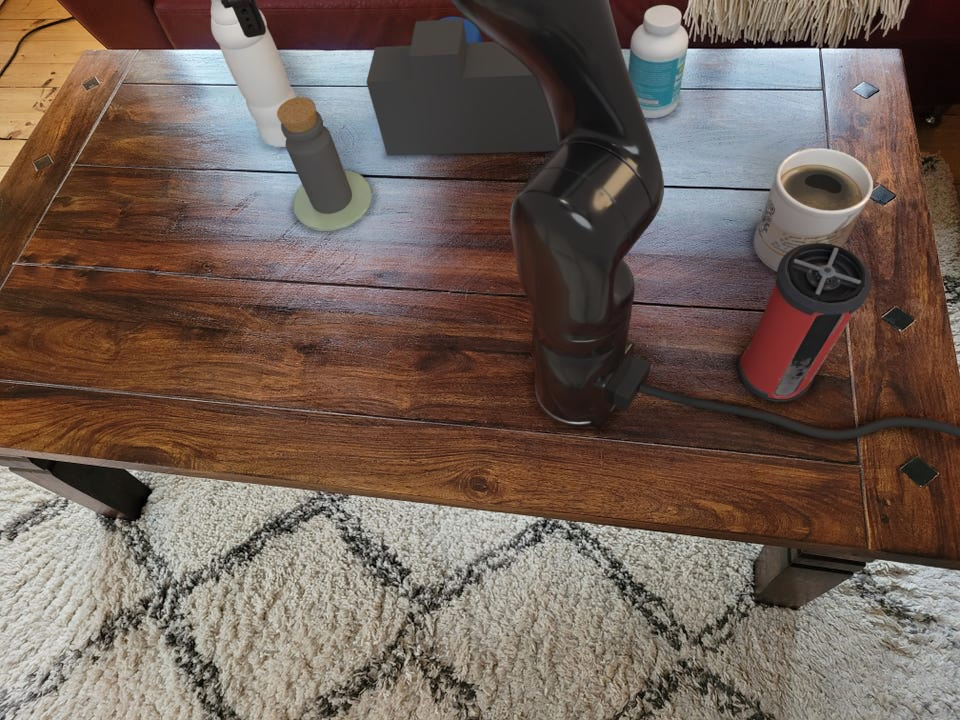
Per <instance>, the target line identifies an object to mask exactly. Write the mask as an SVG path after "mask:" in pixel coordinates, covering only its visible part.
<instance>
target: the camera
mask: <svg viewBox="0 0 960 720" xmlns="http://www.w3.org/2000/svg"><path fill="white" fill-rule="evenodd" d="M371 58H372V59H371V62H370V66H369V70H368V74H367V77H366V81H365V82H366V85H367V89H368V92H369V93H368V94H369V96H370V99H371V103H372V107H373V111H374V114H375V118H376V121H377V124H378V128H379V131H380V135H381V139H382V142H383V146H384V149H385V153H386V156H388V157H389V156H421V155H424V156H425V155H462V154H496V153H498V154H499V153H501V154H502V153H503V154H505V153H537V152H538V153H540V152H541V153H542V152H555V151H556V150H557V135H556V130H555V126H554V122H553V119H552V116H551V113H550V110H549V107H548V105H547V102H546V100H545V97H544V95H543V92H542V90H541V88H540V86H539V84H538V82H537V80H536V79H535V77H534V76H533V75H532V73H531V72H530V71H529V70H528V69H527V68H526V66H525V65H523V64H522V63H521V62H520V61H519V60H518V59H517V58H515V57H514V56H513V55H511V54H510V53H509V52H507V51H506V50H505V49H503V48H502V47H501V46H499V45H498V44H497V43H496V42H494V41H483V37H482V34H481V31H480V30H479V29H478V28H477V27H476V26H475V25H474V24H472V23H471V22H470V21H469V20H468V19H467V18H464V17H459V16H447V17H444V18H440V19H438V20H419V21H415V24H414V29H413V33H412V38H411V43H410V45H395V46H375V47H374V49H373V54H372V57H371Z"/></svg>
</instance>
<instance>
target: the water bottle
mask: <svg viewBox="0 0 960 720" xmlns="http://www.w3.org/2000/svg"><path fill="white" fill-rule="evenodd" d="M210 2H211V7H210V15H211V17H210V29H211V34H212V36H213V38H214V41H215V42H216V43H217V44H218V45H219V49H220V51H221V53H222V57H223V58H224V61H225V63H226V66H227V67H228V70H229V72H230V75H231V76H232V78H233V80H234V82H235V84H236V86H237V88H238V90H239V91H240V94H241V95H242V97H243V99H244V100H245V103H246V107H247V109H248V112H249V114H250V115H251V118H252V119H253V120H254V122H255V125H256V126H255V127H256V128H257V131H258V133H259V136H260V137H261V140H262V141H263V142H264V143H265V144H266V145H268V146H270V147H275V148H286V139H287V138H286V137H285V136H284V134H283V132H282V130H281V122H280V120H279V119H278V117H277V111H278V109H279V107H280V106H281V105H282V104H283V103H284V102H286V101H288V100H290V99H292V98H297V96H296V94H295V91H294V89H293V87H292V86H291V84H290V81H289V78H288V75H287V71H286V68H285V65H284V63H283V61H282V58H281V55H280V53H279V51H278V48H277V46H276V43H275V41H274V39H273V37H272V35H271V32H270V30H269V29H268V24H267V20H266V17H265V14H264V13H263V12H262V10H260V9H259V11H260V14H261V16H262V19H263V21H264V24H265V26H266V32H265V34H264V35H261V36H256V37H251V38H248V37H246V36H245V35H244V33H243V31H242V28H241V26H240V24H239V22H238V19H237V17H236V15H235V12H234V10H233V8H232V7H230V8H226V9H225V8H224V6H223V5H222V3H221V0H210Z"/></svg>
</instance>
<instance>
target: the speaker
mask: <svg viewBox="0 0 960 720" xmlns="http://www.w3.org/2000/svg"><path fill="white" fill-rule="evenodd" d="M871 290H872V277H871V274H870V272H869V269H868V268H867V266H866V265H865V264H864V262H863V261H862V260H861V259H860V258H859V257H858V256H857V255H856V254H854V253H852V252H851V251H850V250H848V249H846V248H844V247H843V248H842V247H839V246H836V245H831V244H825V243H810V244H804V245H800V246H798V247H795V248H794V249H792V250H790V251H789V252H787V253H786V254H785V255H784V257H783V258H782V259H781V261H780V263H779V266H778V270H777V272H776V280H775V283H774V286H773V288H772V291H771V293H770V295H769V298H768V301H767V304H766V305H765V309H764V311H763V313H762V316H761V318H760V320H759V323H758V325H757V327H756V329H755V331H754V333H753V335H752V338H751V340H750V342H749V343H748V345H746V347H745V348H744V349H743V350H742V351H741V354H740V356H739V358H738V361H737V372H738V376H739V378H740V380H741V382H742V384H743V385H744V386H745V387H746V388H747V390H749V392H751V393H752V394H753V395H755V396H757V397H759V398H762V399H764V400H765V401H766V400H767V401H771V402H776V403H778V402H779V403H781V402H782V403H783V402H784V403H785V402H791V401H794V400H797V399H799V398H800V397H802V396H803V395H805V394H806V393H807V391H809V389H810V388H811V386H812V384H813V383H814V380H815V376H816V374H817V373H818V371H819V370H820V369H821V366H822V365H823V363H824V362H825V361H826V360H827V359H826V358H827V357H828V355H829V354H830V353H831V351H832V349H833V348H834V346H835V344H836V343H837V342H838V340H839V338H840V337H841V336H842V333H843V332H844V330H845V328H847V325H848V324H849V323H850V321H851V320H852V318H853V316H854V315H855V313H856V312H857V311H858V310H859V309H860V308H861V307H862V306H863V304H864V303H865V301H867V298H868V297H869V295H870V293H871Z"/></svg>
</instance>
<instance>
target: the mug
mask: <svg viewBox="0 0 960 720" xmlns="http://www.w3.org/2000/svg"><path fill="white" fill-rule="evenodd" d="M873 191H874V181H873V177H872V175H871V172H870V171H869V169H868V168H867V167H866V165H864V164H863V163H862V162H861V161H860V160H859V159H857V158H855V157H854V156H852V155H849V153H845V152H843V151H841V150H836V149H833V148H832V149H831V148H826V147H824V148H823V147H802V148H801V149H800V150H798V151H795V152H793V153H791V154H790V155H788V156H787V157H786V158H784V160H783V161H781V163H780V164H779V166H778V168H777V170H776V173H775V175H774V179H773V182H772V184H771V187H770V190H769V193H768V194H767V198H766V201H765V203H764V207H763V210H762V212H761V214H760V218H759V221H758V223H757V226H756V228H755V232H754V235H753V239H752V240H753V248H754V251H755V254H756V256H757V258H759V260H760V261H761V263H763V264H764V265H765V266H767V267H768V268H769V269H771V270H772V271H774V272H776V273H777V270H778V266H779V263H780V261H781V259H782V258H783V257H784V255H785V254H786V253H787V252H789V251H790V250H792V249H794V248H795V247H798V246H800V245H804V244H810V243H825V244H831V245H836V246H839V247H842V248H844V247H845V245H846V243H847V241H848V240H849V238H850V236H851V234H852V232H853V230H854V228H855V226H856V225H857V223H858V221H859V219H860V217H861V215H862V213H863V211H864V209H865V208H866V206H867V204H868V202H869V201H870V199H871V197H872V194H873Z"/></svg>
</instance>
